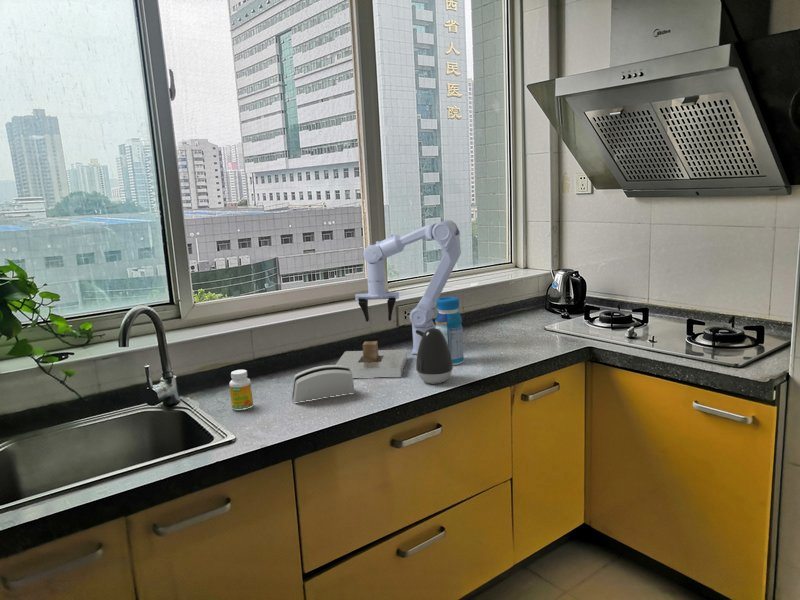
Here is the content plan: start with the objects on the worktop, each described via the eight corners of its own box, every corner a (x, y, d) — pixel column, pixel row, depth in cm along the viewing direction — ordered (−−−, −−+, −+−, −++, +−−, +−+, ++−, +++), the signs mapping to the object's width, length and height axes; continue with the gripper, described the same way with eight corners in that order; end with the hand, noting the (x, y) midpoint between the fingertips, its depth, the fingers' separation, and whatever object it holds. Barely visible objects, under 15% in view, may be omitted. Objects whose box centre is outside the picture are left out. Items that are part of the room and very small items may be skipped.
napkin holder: (350, 388, 166) (351, 358, 161) (355, 398, 162) (356, 368, 157) (290, 398, 161) (289, 367, 156) (293, 409, 157) (292, 378, 152)
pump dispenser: (427, 374, 175) (424, 323, 172) (459, 377, 169) (457, 325, 167) (409, 384, 166) (406, 331, 163) (443, 388, 161) (440, 333, 158)
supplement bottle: (231, 412, 152) (227, 375, 151) (232, 405, 158) (228, 370, 156) (253, 409, 154) (249, 373, 152) (253, 403, 159) (249, 367, 157)
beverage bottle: (463, 366, 180) (460, 300, 176) (435, 366, 182) (431, 301, 178) (465, 358, 188) (462, 295, 184) (438, 358, 190) (435, 296, 186)
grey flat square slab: (407, 358, 192) (406, 349, 192) (400, 377, 173) (400, 367, 172) (345, 360, 194) (345, 351, 194) (332, 379, 175) (331, 369, 174)
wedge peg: (379, 366, 186) (377, 341, 184) (377, 369, 182) (375, 344, 180) (366, 366, 186) (364, 341, 185) (364, 370, 182) (362, 344, 181)
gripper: (352, 283, 197) (355, 323, 199) (396, 281, 195) (398, 322, 198) (356, 280, 204) (359, 319, 206) (398, 278, 202) (400, 317, 204)
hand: (378, 320), depth 202 cm, fingers open, 7 cm apart
